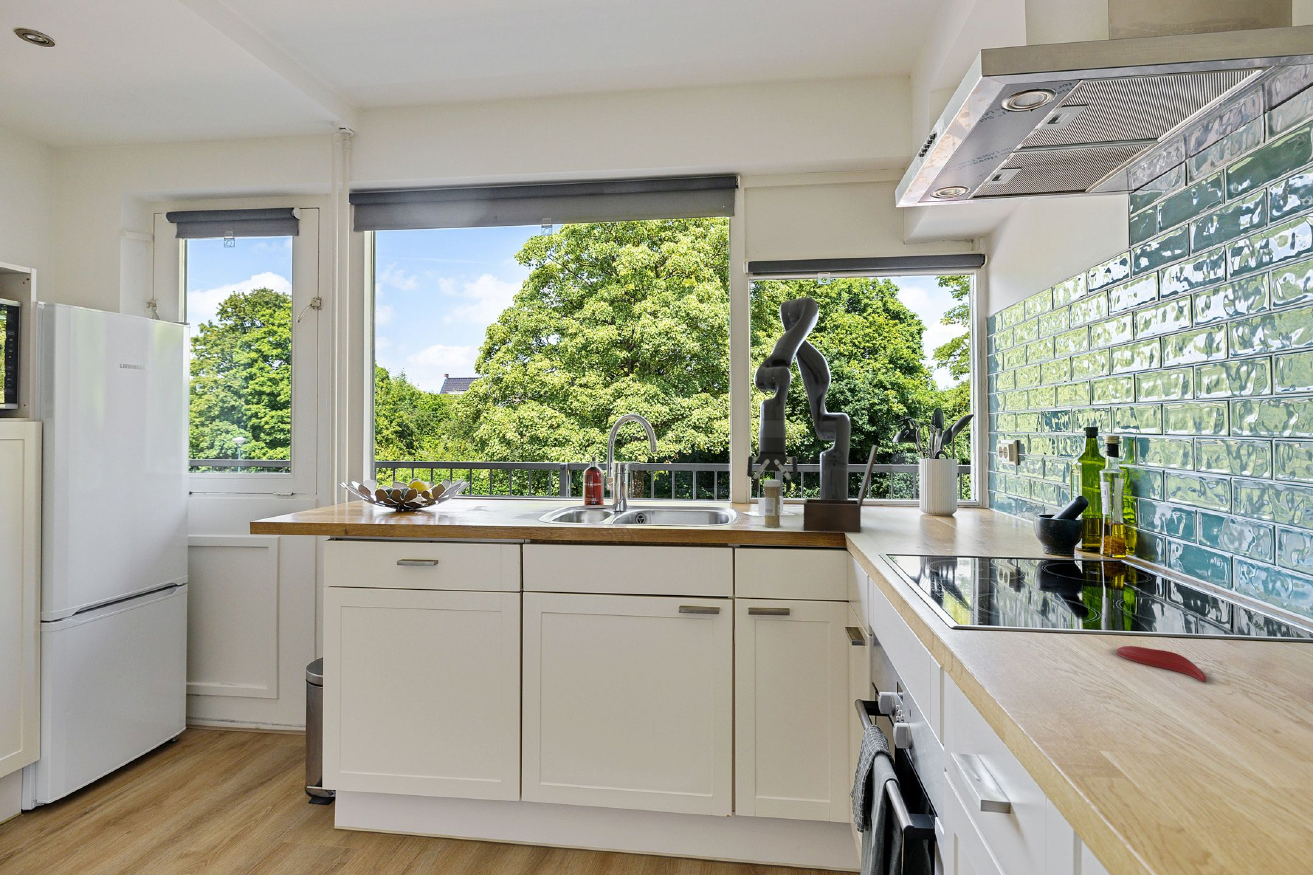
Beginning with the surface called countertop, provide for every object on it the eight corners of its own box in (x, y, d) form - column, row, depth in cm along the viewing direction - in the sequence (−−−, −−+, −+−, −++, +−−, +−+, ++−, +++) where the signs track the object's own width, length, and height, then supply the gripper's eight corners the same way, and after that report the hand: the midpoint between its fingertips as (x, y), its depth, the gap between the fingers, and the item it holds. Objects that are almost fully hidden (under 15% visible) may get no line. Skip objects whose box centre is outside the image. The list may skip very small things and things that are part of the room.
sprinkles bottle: (783, 526, 212) (783, 480, 212) (771, 527, 210) (771, 480, 210) (772, 524, 216) (772, 478, 216) (760, 526, 214) (761, 479, 213)
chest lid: (875, 446, 200) (878, 447, 200) (872, 444, 213) (875, 445, 212) (859, 502, 201) (862, 503, 201) (857, 498, 214) (860, 498, 214)
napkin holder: (781, 510, 251) (781, 494, 251) (797, 514, 240) (797, 497, 240) (741, 512, 247) (741, 495, 246) (755, 516, 236) (755, 498, 236)
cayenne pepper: (1220, 681, 85) (1221, 664, 85) (1185, 682, 85) (1185, 666, 85) (1139, 649, 97) (1139, 635, 97) (1107, 651, 97) (1107, 636, 97)
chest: (803, 530, 205) (803, 503, 204) (805, 524, 217) (805, 498, 217) (860, 532, 201) (860, 504, 201) (858, 526, 214) (858, 500, 214)
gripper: (798, 435, 215) (797, 491, 215) (749, 435, 218) (748, 490, 218) (797, 436, 207) (796, 494, 208) (746, 436, 211) (746, 492, 211)
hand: (772, 492), depth 213 cm, fingers open, 8 cm apart
